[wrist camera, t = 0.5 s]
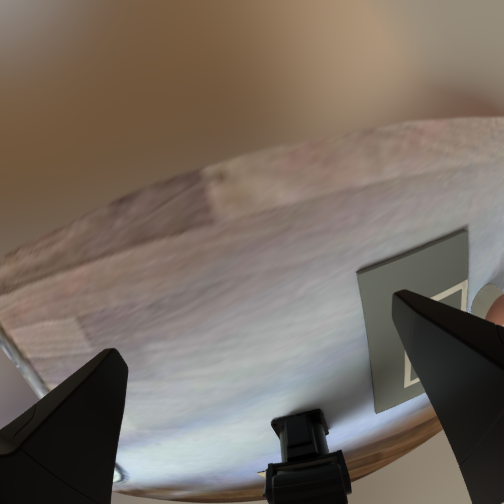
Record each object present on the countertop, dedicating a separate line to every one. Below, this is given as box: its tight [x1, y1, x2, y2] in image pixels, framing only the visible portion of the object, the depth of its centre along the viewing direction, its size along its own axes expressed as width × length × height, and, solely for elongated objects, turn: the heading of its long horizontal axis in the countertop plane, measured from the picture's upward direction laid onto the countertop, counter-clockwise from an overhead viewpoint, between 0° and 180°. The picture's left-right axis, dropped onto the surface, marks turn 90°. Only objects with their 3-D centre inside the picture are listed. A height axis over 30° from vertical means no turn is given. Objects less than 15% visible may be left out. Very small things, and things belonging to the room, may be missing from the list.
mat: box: [356, 229, 468, 414], centre depth 26 cm, size 22×13×1 cm, turn 19°
